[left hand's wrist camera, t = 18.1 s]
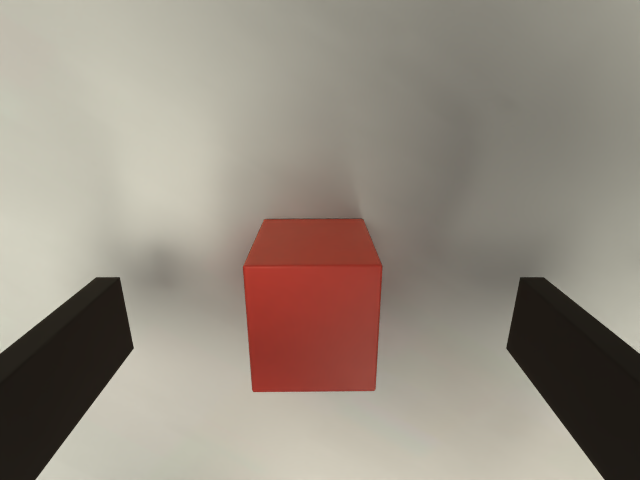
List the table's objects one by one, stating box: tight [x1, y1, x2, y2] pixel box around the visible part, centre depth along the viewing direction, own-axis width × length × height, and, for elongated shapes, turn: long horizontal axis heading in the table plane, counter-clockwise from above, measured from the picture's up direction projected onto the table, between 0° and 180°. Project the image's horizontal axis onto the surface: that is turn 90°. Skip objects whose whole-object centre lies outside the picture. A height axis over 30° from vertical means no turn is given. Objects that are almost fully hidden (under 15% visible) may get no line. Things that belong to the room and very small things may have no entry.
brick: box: [243, 219, 382, 392], centre depth 15 cm, size 4×5×5 cm
